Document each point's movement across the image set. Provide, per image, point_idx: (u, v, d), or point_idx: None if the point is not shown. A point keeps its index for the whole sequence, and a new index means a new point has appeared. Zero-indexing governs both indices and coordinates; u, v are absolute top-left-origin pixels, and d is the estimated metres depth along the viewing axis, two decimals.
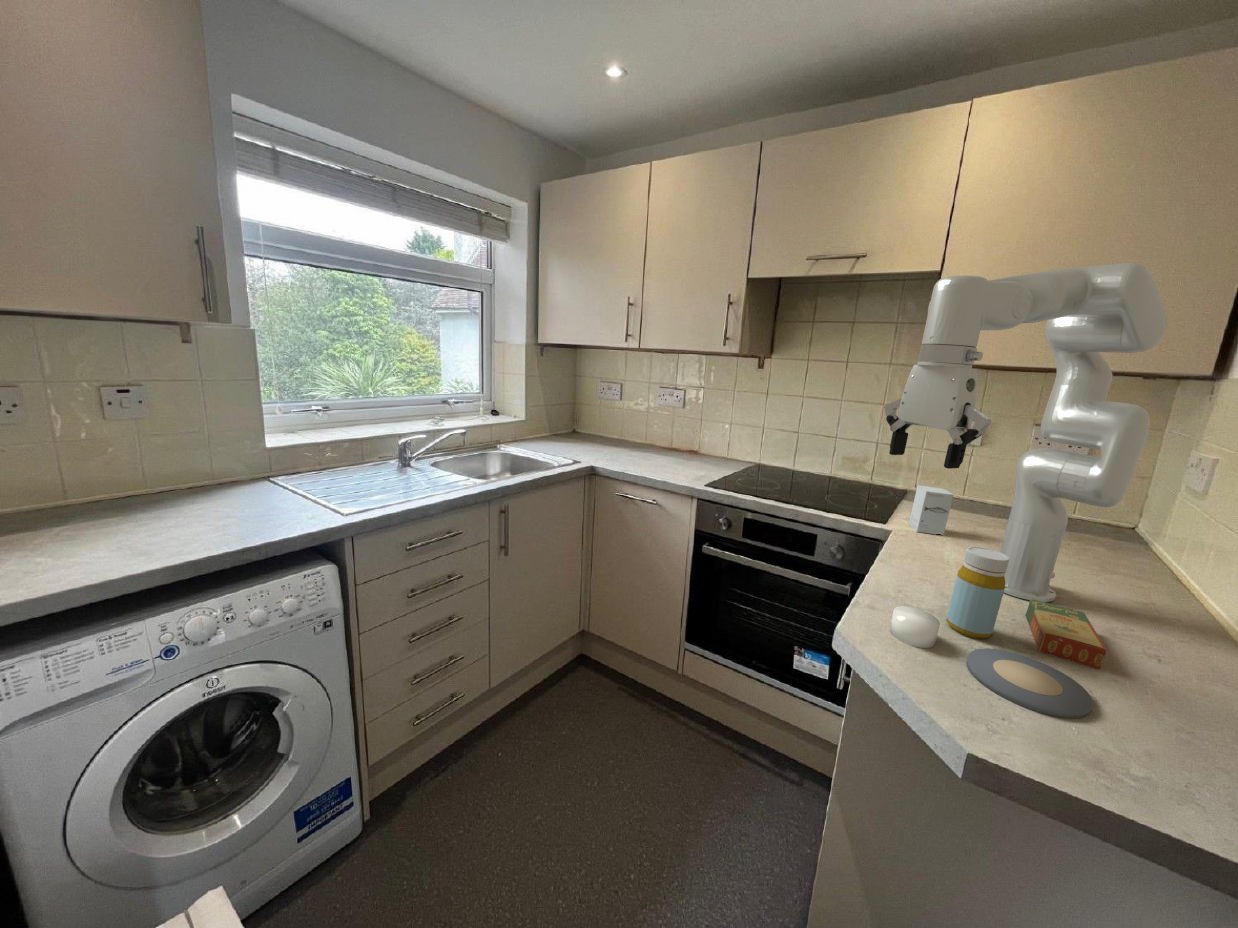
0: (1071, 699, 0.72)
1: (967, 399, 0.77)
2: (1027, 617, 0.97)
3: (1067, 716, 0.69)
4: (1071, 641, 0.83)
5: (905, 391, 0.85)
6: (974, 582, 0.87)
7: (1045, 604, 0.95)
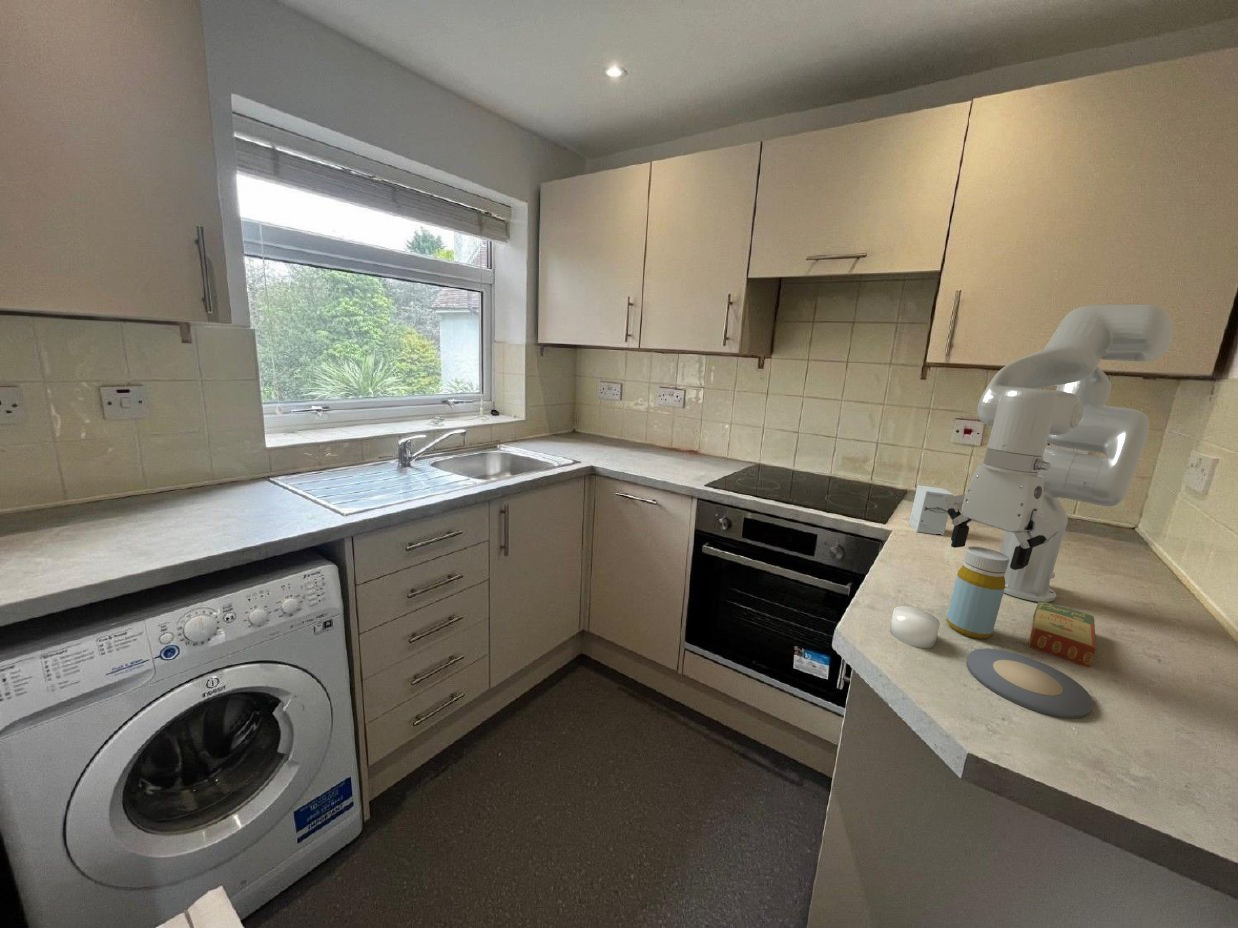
0: (1071, 699, 0.72)
1: (1034, 505, 0.81)
2: (1033, 617, 0.97)
3: (1067, 716, 0.69)
4: (1060, 637, 0.84)
5: (969, 489, 0.88)
6: (974, 582, 0.87)
7: (1051, 606, 0.95)
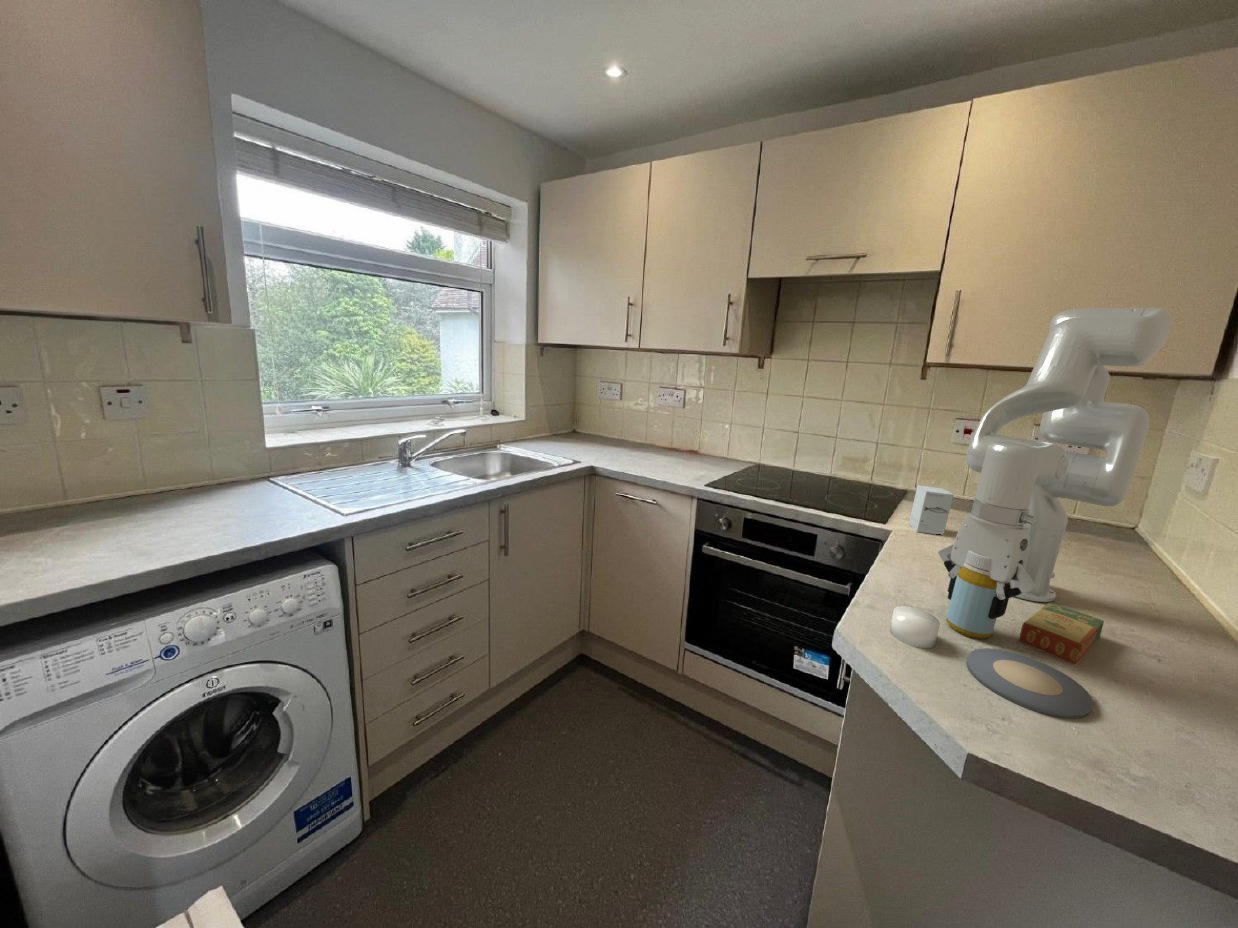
0: (1071, 699, 0.72)
1: (1020, 557, 0.83)
2: None
3: (1067, 716, 0.69)
4: (1049, 633, 0.85)
5: (958, 537, 0.90)
6: (974, 582, 0.87)
7: (1059, 608, 0.95)
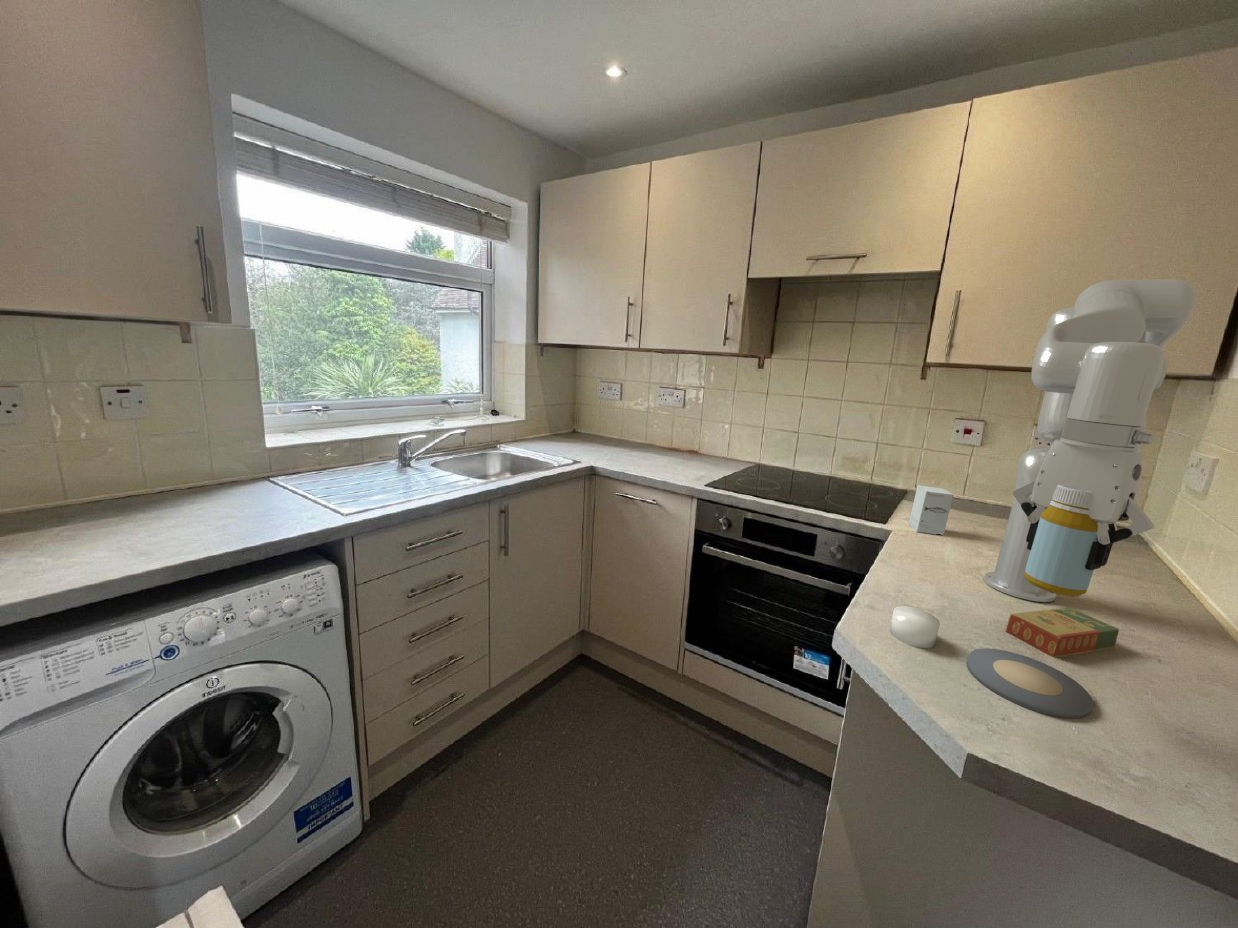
0: (1071, 699, 0.72)
1: (1132, 488, 0.65)
2: None
3: (1067, 716, 0.69)
4: (1031, 625, 0.88)
5: (1042, 470, 0.72)
6: (1067, 524, 0.68)
7: (1073, 612, 0.93)
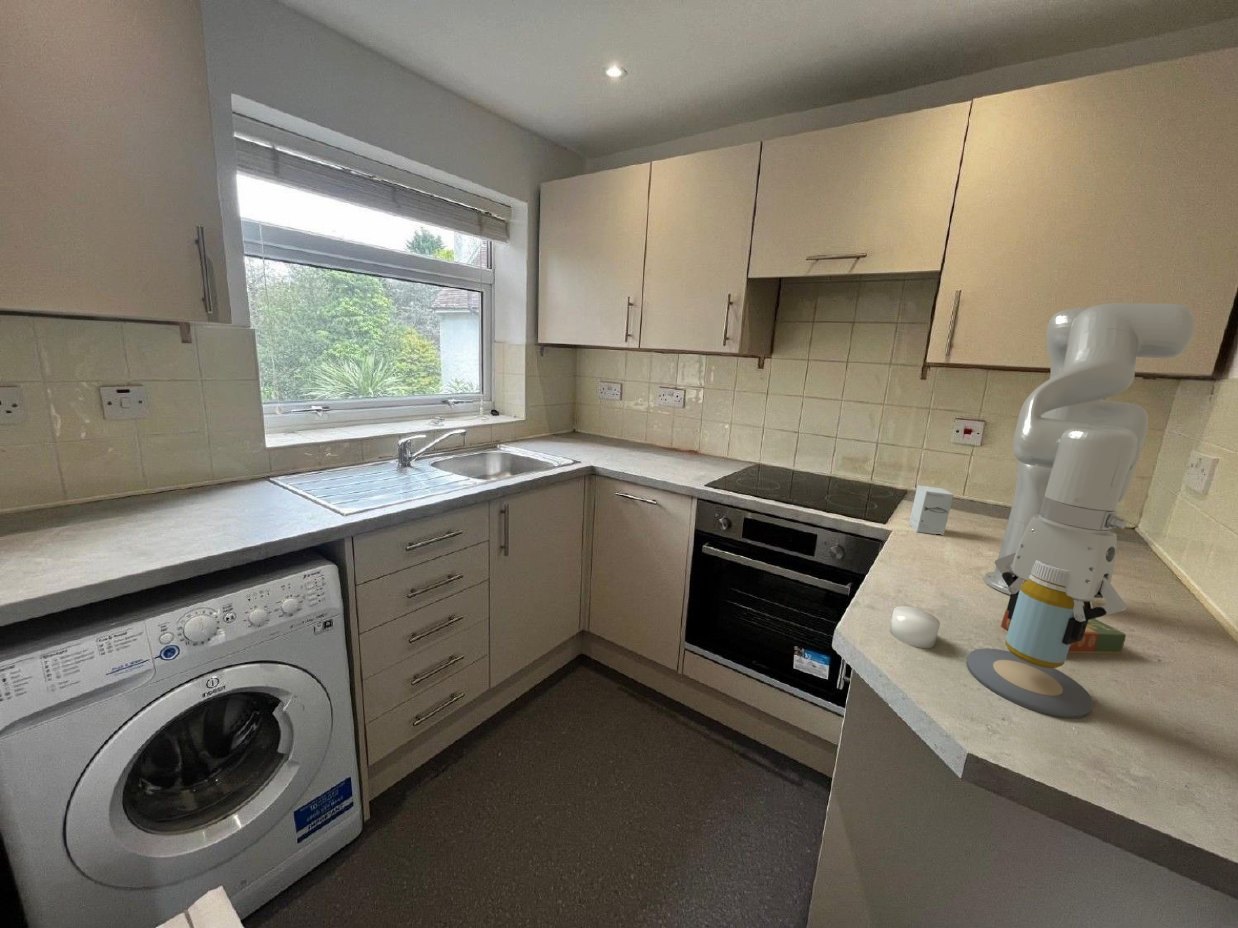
0: (1071, 699, 0.72)
1: (1106, 569, 0.67)
2: None
3: (1067, 716, 0.69)
4: None
5: (1022, 544, 0.74)
6: (1045, 599, 0.71)
7: None
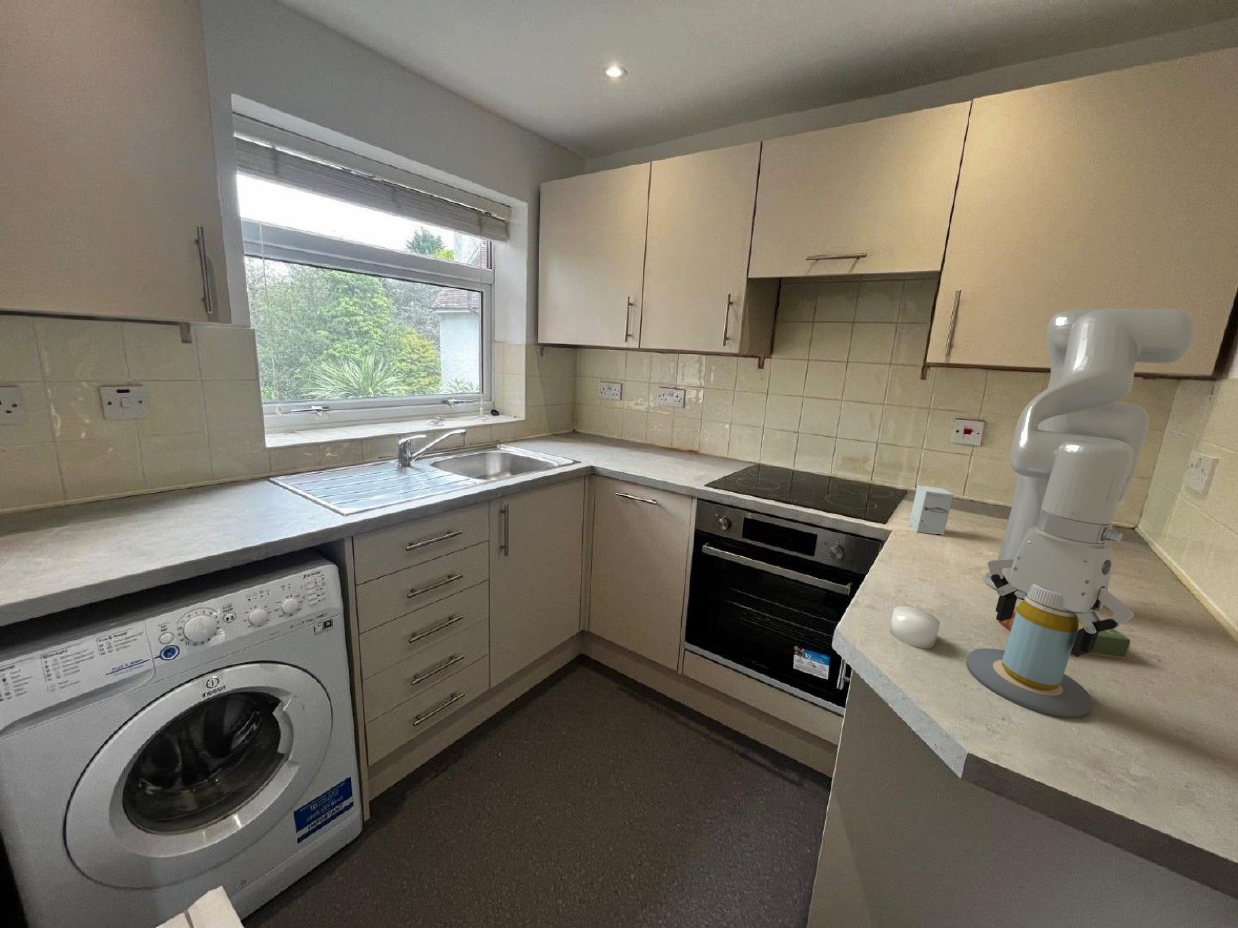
0: (1071, 699, 0.72)
1: (1102, 582, 0.68)
2: None
3: (1067, 716, 0.69)
4: None
5: (1019, 556, 0.75)
6: (1041, 623, 0.72)
7: None
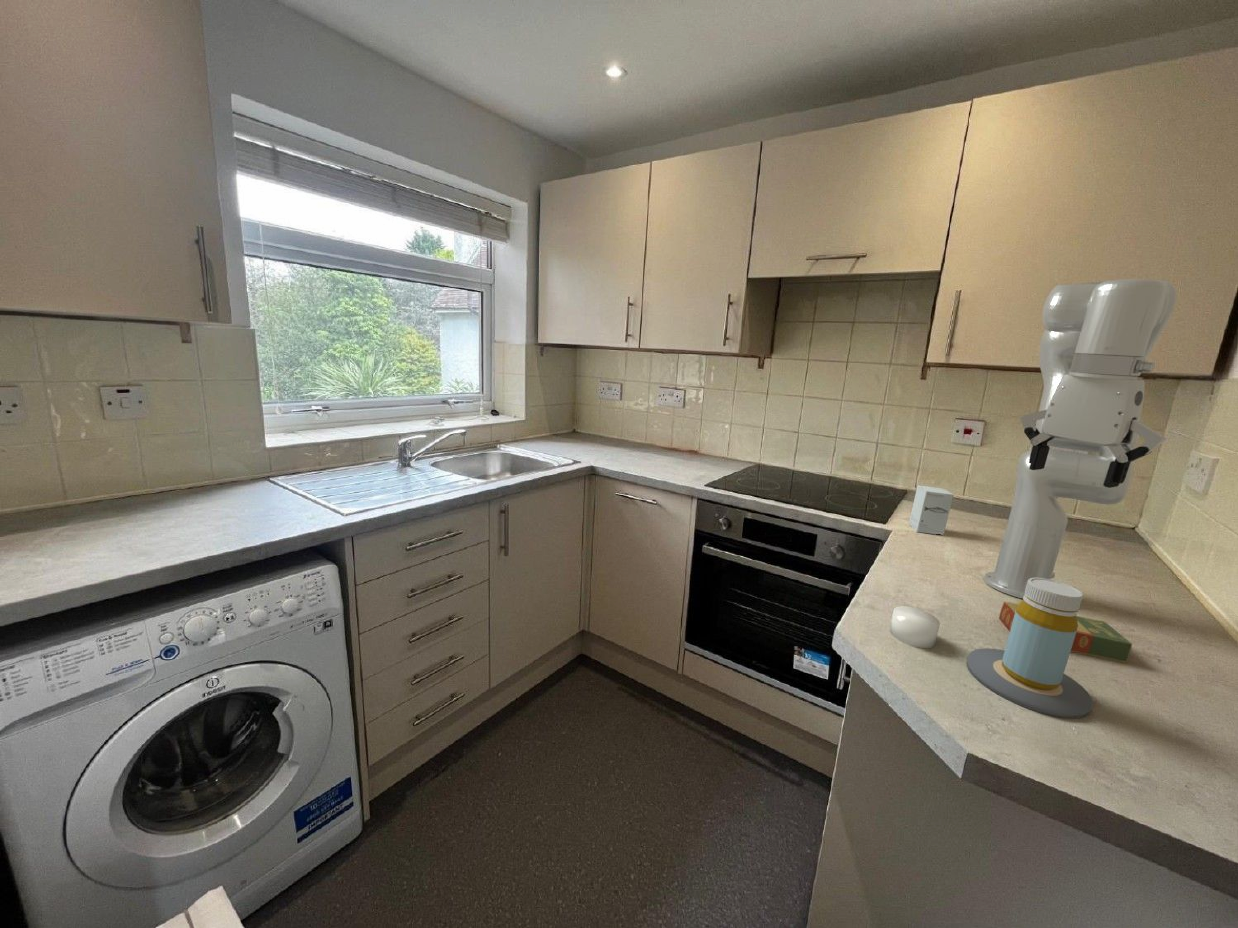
0: (1071, 699, 0.72)
1: (1134, 413, 0.71)
2: None
3: (1067, 716, 0.69)
4: (1011, 610, 0.92)
5: (1052, 403, 0.79)
6: (1040, 623, 0.72)
7: (1098, 623, 0.90)
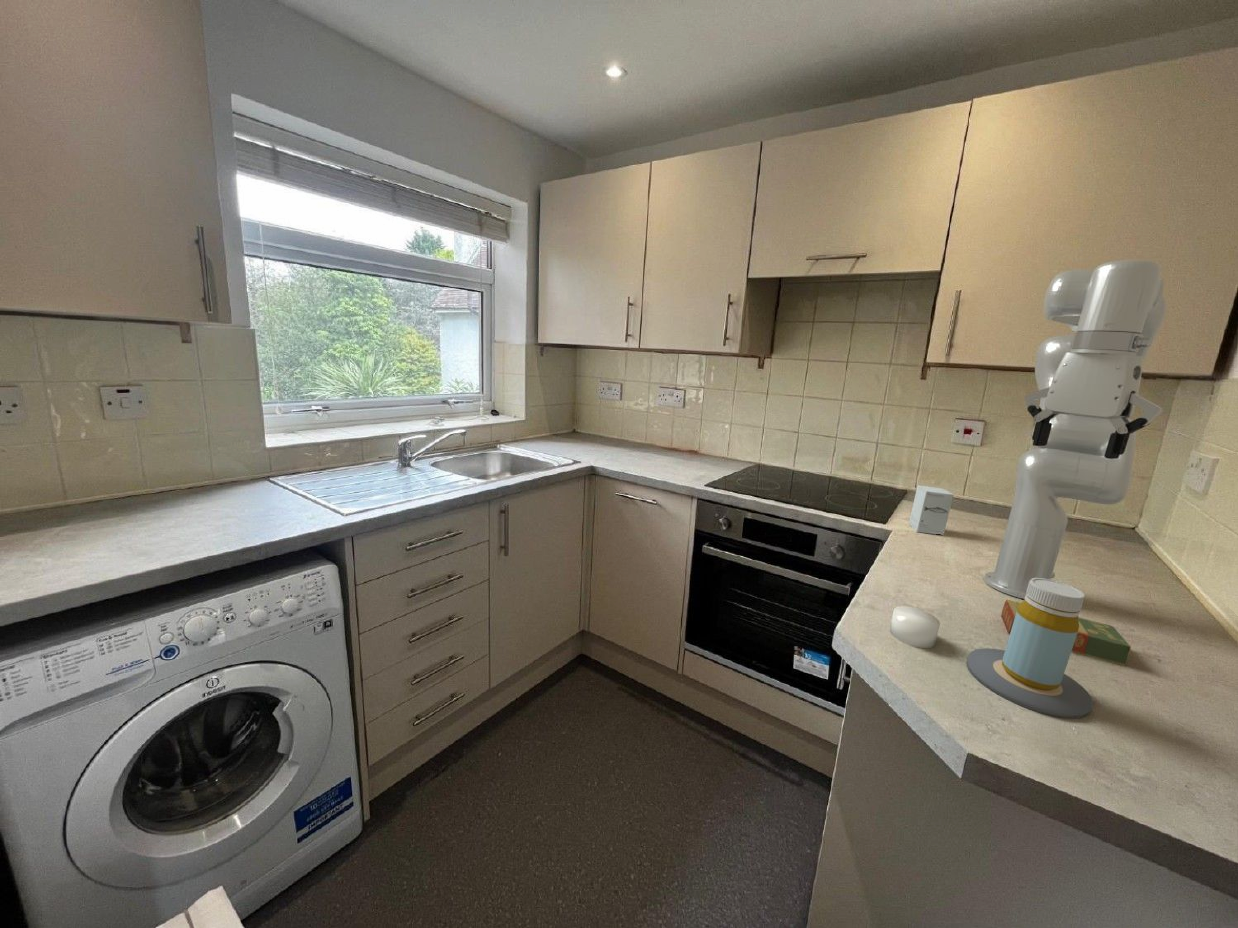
0: (1071, 699, 0.72)
1: (1133, 387, 0.75)
2: None
3: (1067, 716, 0.69)
4: (1009, 607, 0.94)
5: (1055, 380, 0.83)
6: (1041, 623, 0.71)
7: (1103, 626, 0.89)
